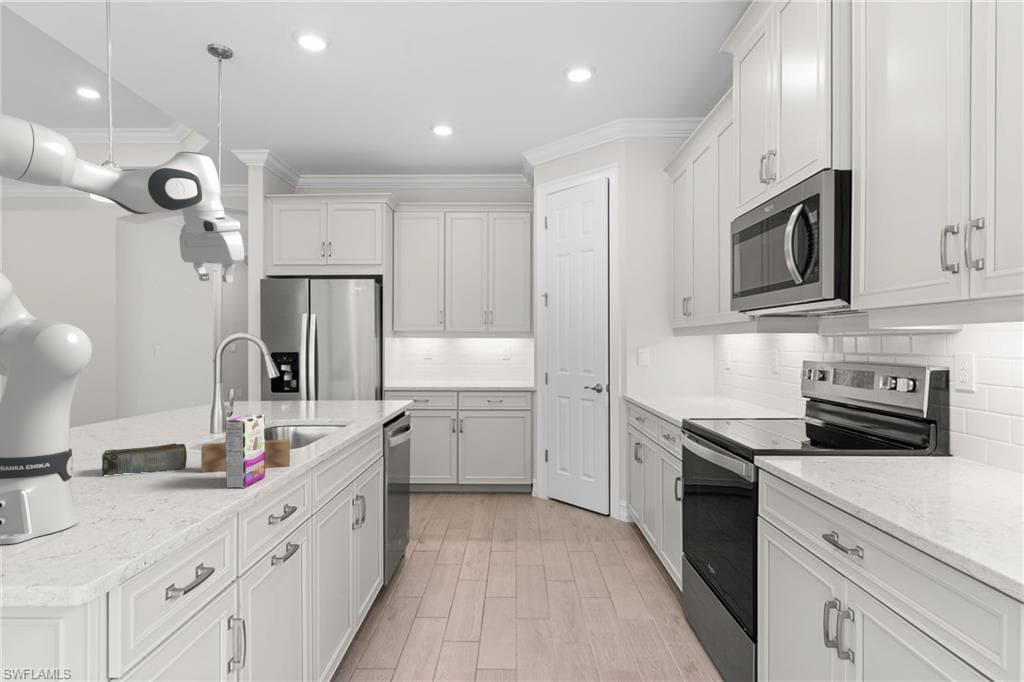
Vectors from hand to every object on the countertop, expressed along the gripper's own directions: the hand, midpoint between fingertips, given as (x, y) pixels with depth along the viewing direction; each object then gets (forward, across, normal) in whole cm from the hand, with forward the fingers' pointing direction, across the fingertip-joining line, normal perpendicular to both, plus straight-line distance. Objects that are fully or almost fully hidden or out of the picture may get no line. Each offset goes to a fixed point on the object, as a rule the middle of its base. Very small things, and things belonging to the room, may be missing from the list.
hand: (216, 281), depth 142 cm
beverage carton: (+51, -26, -13) cm, 59 cm away
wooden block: (+53, -6, +3) cm, 53 cm away
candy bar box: (+49, +8, -7) cm, 50 cm away
